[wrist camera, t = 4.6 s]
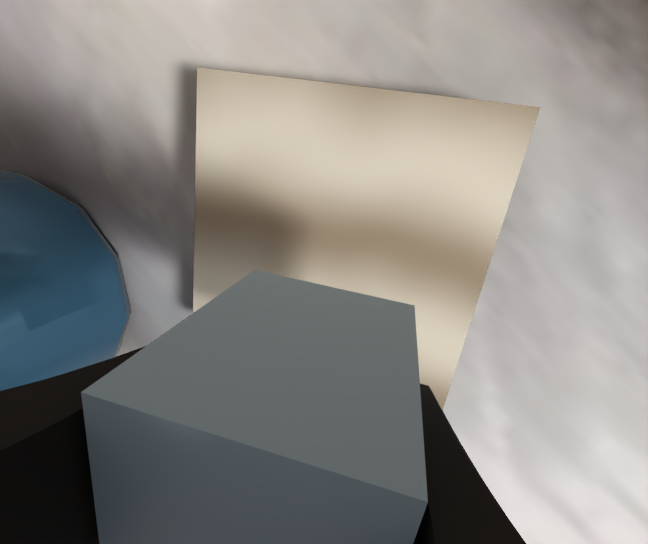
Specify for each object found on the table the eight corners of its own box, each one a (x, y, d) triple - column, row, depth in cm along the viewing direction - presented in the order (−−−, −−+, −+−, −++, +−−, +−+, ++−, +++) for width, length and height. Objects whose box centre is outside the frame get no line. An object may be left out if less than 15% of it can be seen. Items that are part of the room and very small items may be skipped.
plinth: (436, 377, 17) (442, 410, 15) (218, 322, 19) (192, 344, 17) (515, 118, 13) (540, 107, 11) (229, 82, 15) (197, 67, 13)
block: (380, 437, 10) (356, 706, 5) (244, 397, 11) (105, 599, 6) (414, 305, 9) (427, 501, 4) (254, 269, 10) (80, 392, 4)
